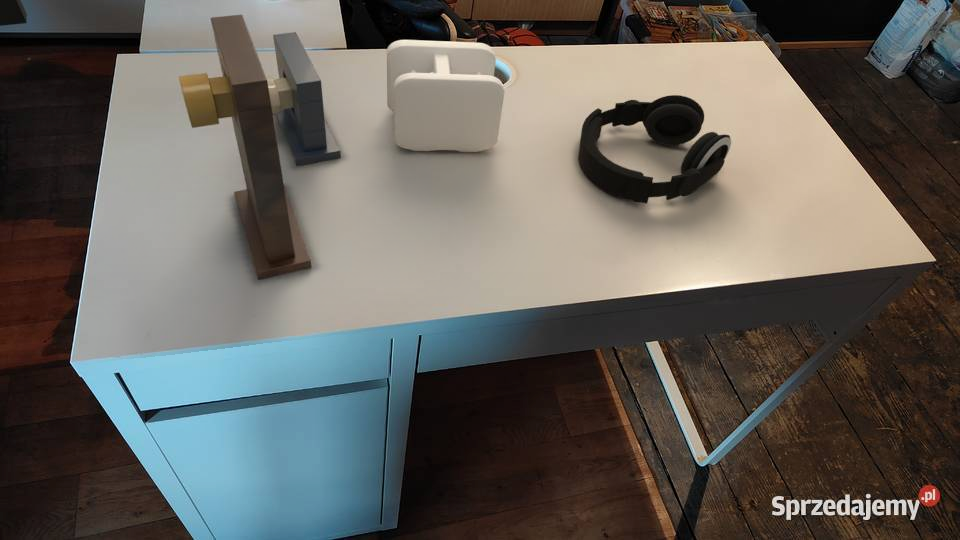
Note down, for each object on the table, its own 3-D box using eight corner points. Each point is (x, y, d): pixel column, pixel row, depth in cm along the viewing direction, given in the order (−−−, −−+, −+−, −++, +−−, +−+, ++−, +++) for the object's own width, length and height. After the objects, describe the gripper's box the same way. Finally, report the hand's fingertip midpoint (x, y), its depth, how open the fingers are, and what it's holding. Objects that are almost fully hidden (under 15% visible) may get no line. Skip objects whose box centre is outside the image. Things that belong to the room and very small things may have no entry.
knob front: (194, 138, 63) (182, 94, 59) (187, 109, 66) (176, 66, 62) (264, 127, 65) (256, 84, 62) (254, 99, 68) (247, 57, 64)
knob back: (263, 124, 86) (258, 92, 82) (255, 103, 88) (249, 71, 85) (313, 115, 88) (310, 83, 84) (303, 95, 91) (300, 64, 87)
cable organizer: (387, 153, 90) (387, 78, 82) (387, 108, 97) (386, 35, 89) (495, 155, 93) (506, 82, 84) (487, 111, 99) (496, 39, 91)
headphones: (760, 146, 86) (622, 183, 81) (742, 191, 92) (613, 227, 87) (687, 74, 97) (562, 103, 92) (675, 118, 103) (557, 147, 98)
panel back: (296, 166, 87) (286, 90, 78) (271, 106, 95) (259, 32, 86) (340, 157, 89) (335, 82, 80) (312, 100, 97) (305, 26, 88)
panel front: (257, 280, 73) (215, 93, 56) (235, 198, 82) (192, 14, 64) (311, 267, 75) (287, 83, 58) (284, 189, 84) (255, 7, 66)
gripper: (-315, 40, 50) (38, 8, 58) (-378, 142, 42) (38, 89, 50) (-403, -63, 45) (1, -82, 52) (-494, 33, 37) (-5, -7, 45)
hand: (19, 2), depth 51 cm, fingers closed
